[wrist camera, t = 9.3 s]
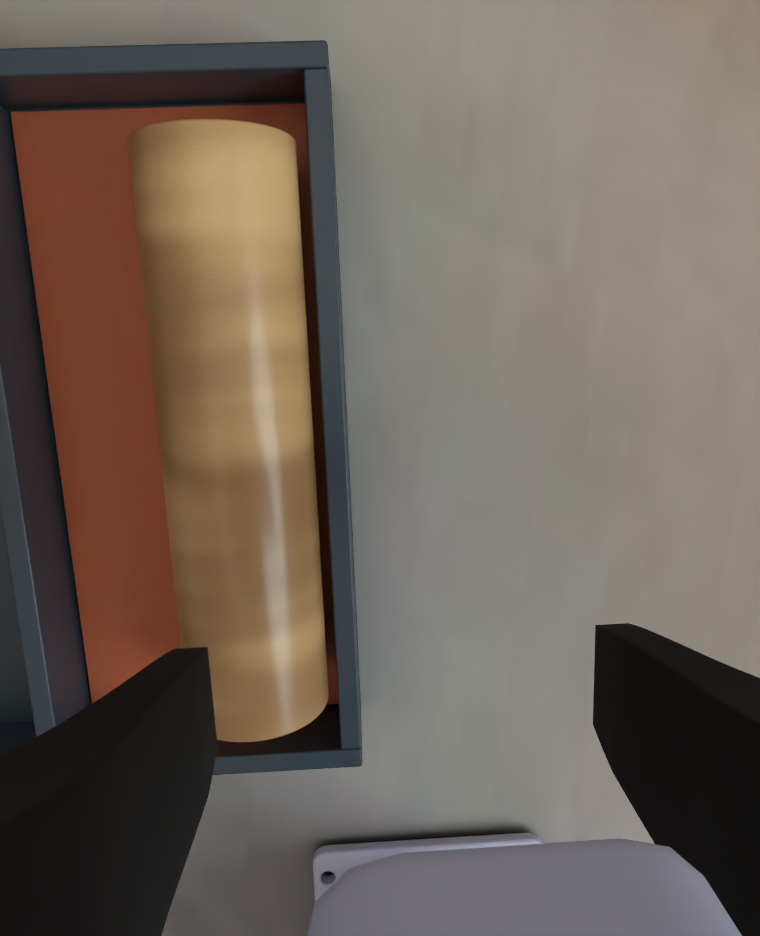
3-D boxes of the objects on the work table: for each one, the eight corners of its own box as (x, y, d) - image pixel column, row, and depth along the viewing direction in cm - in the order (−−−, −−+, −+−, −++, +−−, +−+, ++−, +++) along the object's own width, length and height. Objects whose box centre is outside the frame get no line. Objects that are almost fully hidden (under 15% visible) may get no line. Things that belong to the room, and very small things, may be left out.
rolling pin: (261, 656, 23) (356, 690, 20) (158, 713, 19) (257, 762, 17) (221, 167, 19) (329, 141, 17) (91, 142, 16) (201, 105, 14)
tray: (360, 710, 23) (362, 767, 20) (-185, 741, 22) (-265, 804, 20) (330, 82, 19) (327, 38, 16) (-334, 100, 18) (-463, 59, 16)
